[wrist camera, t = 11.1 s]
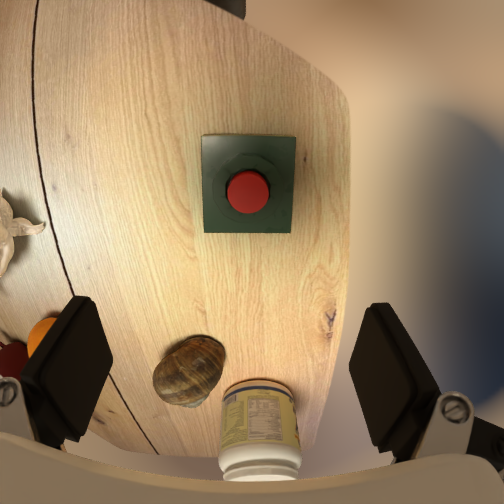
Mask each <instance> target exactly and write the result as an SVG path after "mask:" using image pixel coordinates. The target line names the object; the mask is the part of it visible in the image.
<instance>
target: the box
mask: <svg viewBox="0 0 504 504" xmlns="http://www.w3.org/2000/svg"><path fill="white" fill-rule="evenodd" d="M295 150H296V137H295V136H292V135H273V134H204V135H202V136H201V163H202V197H203V222H204V233H291V219H292V204H293V188H294V170H295ZM242 171H254V172H256V173H258V174H260V175H261V176H262V177H263V178H264V180H265V181H266V184H267V187H268V192H269V195H268V200H267V202H266V204H265V205H264V207H263V208H261V209H260V210H259V211H257V212H254V213H242V212H239V211H237V210H236V209H235V208H233V206H232V205H231V204H230V202H229V200H228V188H229V184H230V181H231V180H232V178H233V177H234V176H235V175H236V174H238V173H240V172H242Z"/></svg>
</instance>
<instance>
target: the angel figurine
mask: <svg viewBox="0 0 504 504" xmlns="http://www.w3.org/2000/svg"><path fill="white" fill-rule="evenodd" d="M0 217H1V220H2V221H1V220H0V278H1V276H2V275H3V274H4V273H5V272H6V270H7V266H8V263H9V261H10V260H11V258H12V256H13V253H14V241H13V237H15V236H20V235H21V236H24V235H30V234H38V233H41V232H42V230H43V229H44V223H42V224H39V225H32V224H31V222H30V221H28V220H27V219H24V218H22V217H20V218H14V219H13V210H12V209H11V206H10V204H9V203H8V202H7V201H6V200H5V199H4V198H3V197H2V194H1V188H0Z"/></svg>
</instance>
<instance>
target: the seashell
mask: <svg viewBox="0 0 504 504" xmlns="http://www.w3.org/2000/svg"><path fill="white" fill-rule="evenodd" d="M224 360H225V351H224V349H223V347H222V346H221V345H220V344H218V343H216V342H215V341H213V340H211V339H208V338H202V337H198V338H192V339H189V340H187V341H185V342H184V343H183V344H182V345H181V346H180V347H179V349H178V350H177V351H176V352H174V353H172V354H170V355H168V356H167V357H166V358H164V359H163V360H162V361H161V362H160V363H159V364H158V365H157V367H156V368H155V370H154V373H153V386H154V389H155V391H156V393H157V394H158V395H159V397H160V398H161V399H162V400H164V401H165V402H167V403H170V404H172V405H180V406H183V407H189V408H196V407H198V406H199V405H200V404H201V403H202V402H203V401H204V400H205V399H206V398H207V397H208V396H209V393H210V392H211V391H212V390H213V388H214V387H215V386H216V385H217V383H218V381H219V380H220V378H221V374H222V371H223V362H224Z"/></svg>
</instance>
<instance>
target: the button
mask: <svg viewBox="0 0 504 504" xmlns="http://www.w3.org/2000/svg"><path fill="white" fill-rule="evenodd" d="M268 195H269V192H268V187H267V184H266V181H265V180H264V178H263V177H262V176H261V175H260V174H258V173H256V172H254V171H242V172H240V173H238V174H236V175H235V176H234V177H233V178H232V180H231V181H230V184H229V188H228V200H229V202H230V204H231V205H232V206H233V208H235V209H236V210H237V211H239V212H242V213H254V212H257V211H259V210H260V209H261V208H263V207H264V205H265V204H266V202H267V200H268Z"/></svg>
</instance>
